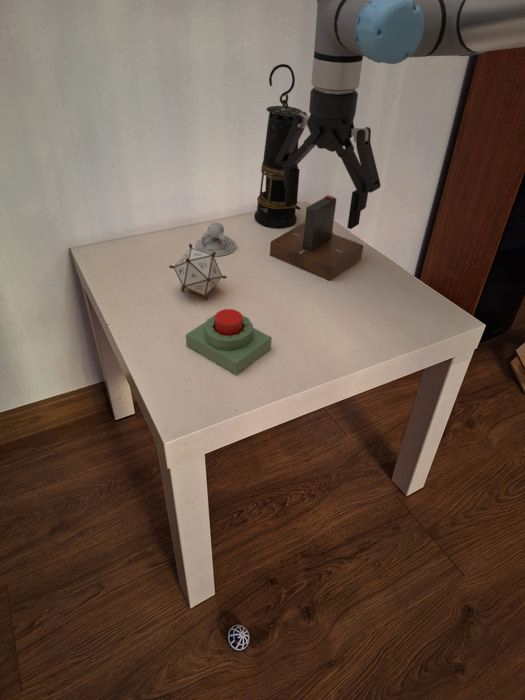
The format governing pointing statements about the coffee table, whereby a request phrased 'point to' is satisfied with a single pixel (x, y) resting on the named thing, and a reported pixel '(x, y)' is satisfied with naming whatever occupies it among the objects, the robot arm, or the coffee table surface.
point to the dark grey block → (319, 222)
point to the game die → (198, 271)
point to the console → (316, 253)
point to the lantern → (276, 165)
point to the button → (228, 322)
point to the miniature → (215, 241)
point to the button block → (229, 345)
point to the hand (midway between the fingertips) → (321, 215)
